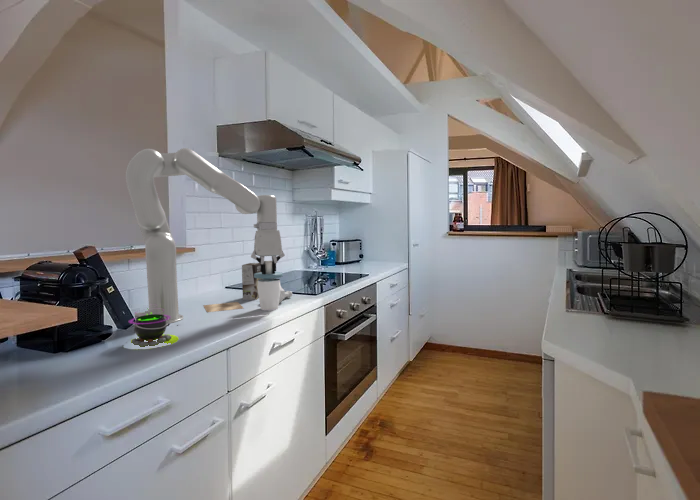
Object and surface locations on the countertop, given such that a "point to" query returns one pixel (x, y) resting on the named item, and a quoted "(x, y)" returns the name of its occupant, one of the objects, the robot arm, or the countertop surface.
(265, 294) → the cup
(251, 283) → the coffee box
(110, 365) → the countertop surface
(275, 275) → the lid
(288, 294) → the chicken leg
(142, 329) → the toy cauldron
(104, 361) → the countertop surface
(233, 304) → the board
